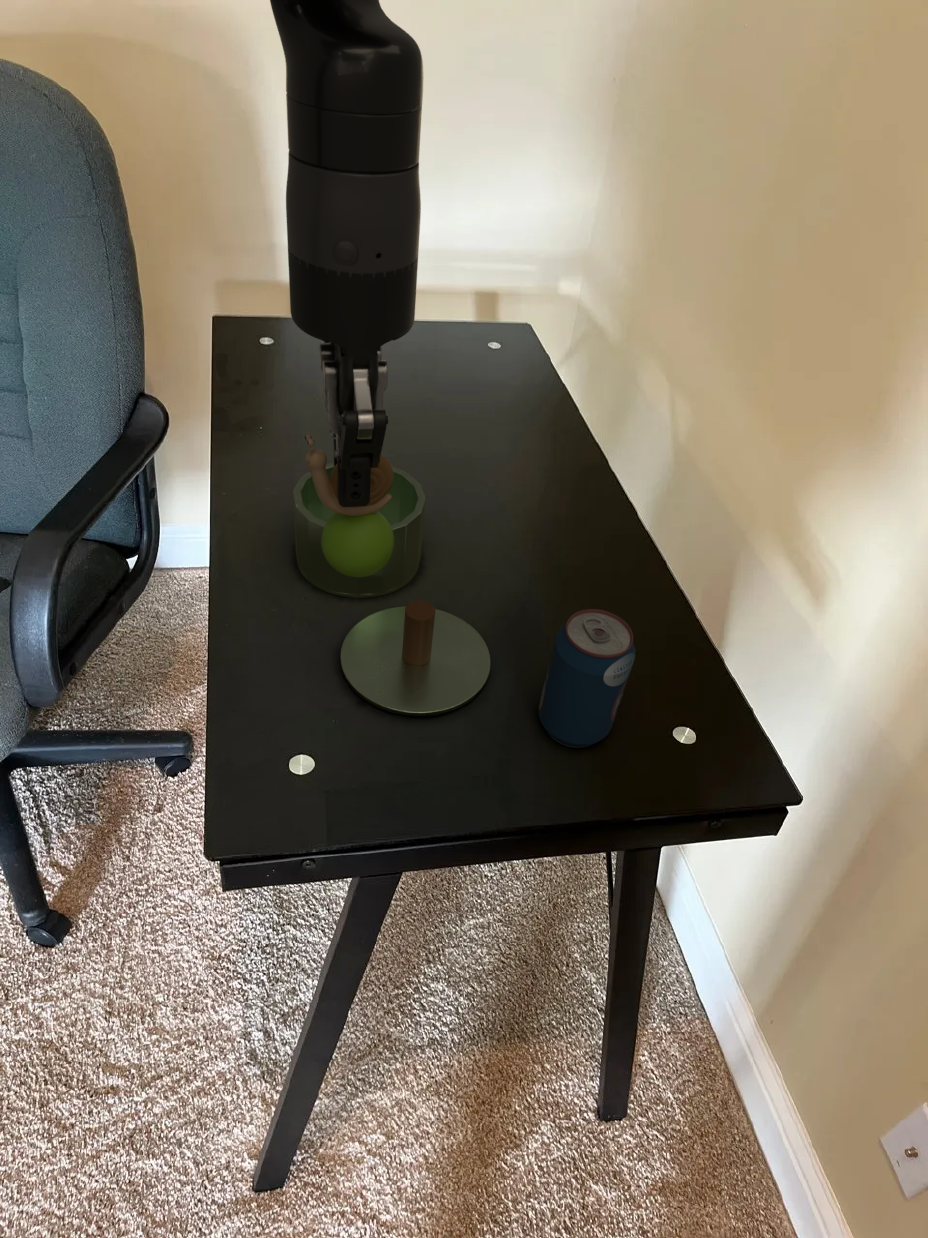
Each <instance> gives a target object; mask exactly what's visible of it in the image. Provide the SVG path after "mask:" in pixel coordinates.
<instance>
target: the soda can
mask: <svg viewBox="0 0 928 1238" xmlns="http://www.w3.org/2000/svg"><path fill="white" fill-rule="evenodd" d="M633 633H634V632H633V630H632V628H631V627H630V625H629V624H628V623H627V622H626V621H625V620H624V619H623V618H621V617H620V616H618V615H617V614H615V613H612V612H610V611H607V610H604V609H597V608H596V609H595V608H588V609H587V608H586V609H582V610H578V611H576V612H574V613H573V614H571V615H570V617H568V619H567V620H566V623H564V624H563V625H562V626H561V627H560V628H559V630H558V631H557V632H556V635H555V638H554V641H553V646H552V651H551V655H550V659H549V663H548V666H547V671H546V675H545V680H544V684H543V687H542V690H541V691H542V692H541V695H540V699H539V704H538V709H537V711H538V712H537V713H538V718H539V720H540V723H541V725H542V727H543V728H544V730H545V731H546V734H548V735H549V736H550V738H551V739H553V740H554V741H556V742H557V743H558V744H560V745H562V746H566V747H569V748H577V749H578V748H580V749H581V748H586V747H590V746H593V745H595V744H597V743H599V742H601V741H602V740H603V739H604V738H606V737H607V736H608V735H609V733H610V732H611V730H612V727H613V725H614V722H615V719H616V716H617V713H618V710H619V706H620V703H621V701H622V698H623V696H624V692H625V689H626V686H627V683H628V680H629V677H630V674H631V671H632V668H633V665H634V663H635V659H636V648H635V644H634V634H633Z"/></svg>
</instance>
